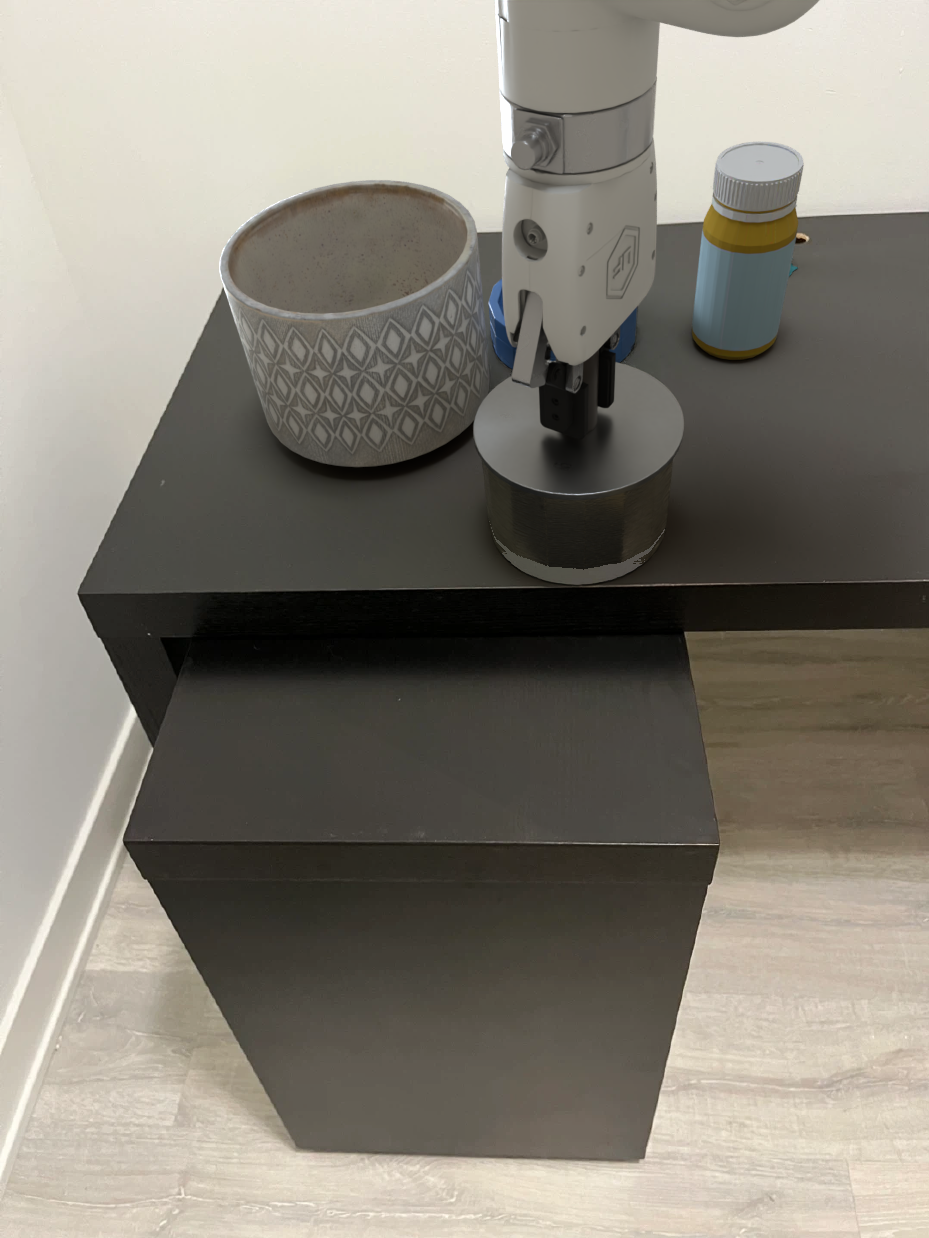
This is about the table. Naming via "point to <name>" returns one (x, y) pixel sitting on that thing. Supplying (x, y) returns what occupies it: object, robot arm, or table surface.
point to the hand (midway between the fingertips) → (577, 413)
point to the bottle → (746, 249)
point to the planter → (361, 319)
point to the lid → (581, 468)
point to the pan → (509, 352)
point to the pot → (578, 523)
